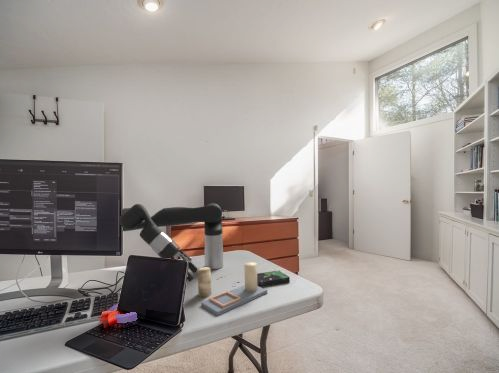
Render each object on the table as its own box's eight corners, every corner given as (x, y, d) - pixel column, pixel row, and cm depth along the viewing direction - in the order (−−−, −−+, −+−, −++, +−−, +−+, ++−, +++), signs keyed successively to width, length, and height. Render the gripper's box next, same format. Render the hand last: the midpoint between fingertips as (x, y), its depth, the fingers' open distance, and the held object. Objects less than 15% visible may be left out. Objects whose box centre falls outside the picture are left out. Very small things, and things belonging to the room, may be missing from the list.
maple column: (196, 294, 101) (195, 269, 101) (206, 290, 105) (206, 266, 105) (202, 298, 98) (202, 272, 97) (213, 294, 101) (212, 269, 101)
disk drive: (258, 289, 106) (290, 283, 111) (258, 282, 106) (290, 276, 111) (250, 280, 116) (279, 275, 121) (249, 274, 116) (279, 269, 121)
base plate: (201, 305, 92) (200, 274, 92) (250, 285, 108) (249, 259, 108) (217, 315, 85) (216, 282, 84) (267, 292, 101) (266, 264, 101)
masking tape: (106, 333, 77) (105, 320, 77) (108, 315, 87) (108, 304, 87) (147, 323, 82) (147, 311, 82) (145, 307, 92) (145, 296, 92)
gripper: (163, 248, 107) (191, 275, 107) (151, 259, 92) (183, 289, 93) (176, 235, 107) (203, 262, 107) (165, 244, 92) (197, 275, 93)
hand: (194, 275), depth 100 cm, fingers open, 8 cm apart
